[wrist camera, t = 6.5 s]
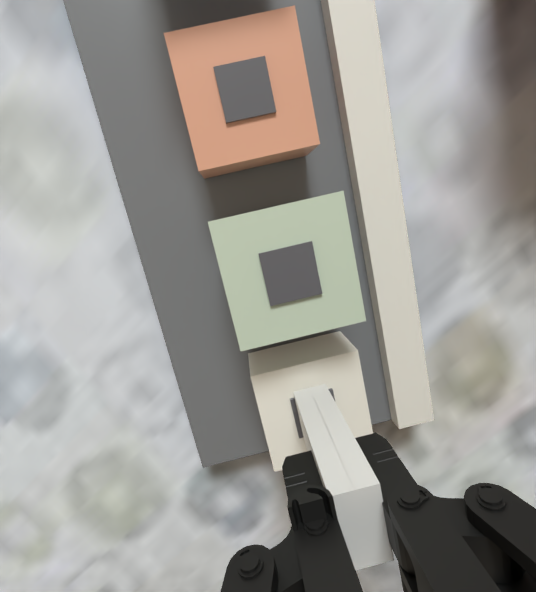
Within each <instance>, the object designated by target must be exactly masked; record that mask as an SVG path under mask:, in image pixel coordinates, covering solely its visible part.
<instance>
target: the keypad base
mask: <svg viewBox="0 0 536 592" xmlns="http://www.w3.org/2000/svg"><path fill="white" fill-rule="evenodd" d="M63 1H64V4H65V8H66V11H67V14H68V18H69V21H70V24H71V28H72V31H73V34H74V38H75V41H76V44H77V48H78V51H79V54H80V58H81V61H82V64H83V68H84V71H85V75H86V78H87V81H88V85H89V88H90V91H91V95H92V98H93V101H94V105H95V108H96V111H97V115H98V118H99V121H100V125H101V128H102V131H103V135H104V138H105V141H106V145H107V148H108V151H109V155H110V158H111V162H112V165H113V168H114V172H115V175H116V178H117V182H118V185H119V188H120V192H121V195H122V198H123V202H124V205H125V208H126V212H127V215H128V218H129V222H130V225H131V228H132V232H133V235H134V238H135V242H136V245H137V249H138V252H139V255H140V259H141V262H142V265H143V269H144V272H145V275H146V279H147V282H148V285H149V289H150V292H151V295H152V299H153V302H154V305H155V309H156V312H157V315H158V319H159V322H160V325H161V329H162V332H163V335H164V339H165V342H166V346H167V349H168V352H169V356H170V359H171V362H172V366H173V369H174V372H175V376H176V379H177V382H178V386H179V389H180V392H181V396H182V399H183V402H184V406H185V409H186V412H187V416H188V419H189V422H190V426H191V429H192V433H193V436H194V439H195V443H196V446H197V449H198V453H199V456H200V459H201V463H202V466H203V468H204V467H207V466H211V465H215V464H219V463H223V462H227V461H231V460H235V459H239V458H243V457H247V456H251V455H255V454H259V453H263V452H266V451H269V448H268V445H267V441H266V437H265V433H264V429H263V425H262V421H261V417H260V413H259V409H258V405H257V401H256V397H255V393H254V389H253V385H252V381H251V377H250V368H249V358H248V353H252V352H256V351H260V350H264V349H268V348H272V347H276V346H280V345H285V344H289V343H293V342H297V341H301V340H305V339H309V338H313V337H317V336H321V335H326V334H330V333H334V332H338V331H341V332H342V334H343V335H344V336H345V337H346V338H347V339H348V340H349V341H350V342H351V343H352V344H353V345H354V346H355V348H356V349H357V350H358V353H359V359H360V364H361V369H362V375H363V380H364V386H365V391H366V397H367V402H368V408H369V413H370V419H371V424H372V425H373V424H377V423H380V422H384V421H388V420H392V421H393V422H394V423H395V425H396V426H397V427H398V428H399V429H402V428H405V427H409V426H413V425H417V424H421V423H425V422H429V421H433V420H434V416H433V409H432V402H431V395H430V388H429V381H428V374H427V366H426V359H425V352H424V345H423V338H422V331H421V324H420V317H419V310H418V303H417V296H416V289H415V282H414V275H413V268H412V261H411V254H410V247H409V240H408V233H407V226H406V219H405V212H404V205H403V198H402V191H401V184H400V177H399V169H398V162H397V155H396V148H395V141H394V134H393V127H392V120H391V113H390V106H389V99H388V92H387V85H386V78H385V71H384V64H383V57H382V50H381V43H380V36H379V29H378V22H377V15H376V8H375V1H374V0H63ZM294 5H295V9H296V15H297V20H298V26H299V31H300V37H301V42H302V48H303V53H304V59H305V64H306V70H307V75H308V80H309V86H310V91H311V97H312V102H313V108H314V113H315V119H316V124H317V130H318V135H319V141H320V144H319V145H318V146H317V147H316V148H315V149H314V150H313V151H311V152H310V153H309V154H308V155H307V156H303V157H299V158H294V159H290V160H285V161H281V162H276V163H272V164H268V165H263V166H259V167H254V168H250V169H245V170H241V171H237V172H232V173H228V174H223V175H219V176H214V177H210V178H206V179H204V178H203V176H202V175H201V174H200V172H199V171H198V167H197V163H196V159H195V155H194V151H193V147H192V143H191V139H190V135H189V131H188V128H187V124H186V120H185V116H184V112H183V108H182V104H181V100H180V96H179V92H178V88H177V84H176V80H175V76H174V72H173V68H172V64H171V60H170V56H169V52H168V48H167V44H166V40H165V36H164V33H166V32H171V31H175V30H180V29H185V28H190V27H194V26H199V25H204V24H209V23H214V22H218V21H223V20H228V19H233V18H237V17H242V16H247V15H252V14H256V13H261V12H266V11H271V10H275V9H280V8H285V7H290V6H294ZM340 191H344V196H345V202H346V207H347V213H348V219H349V225H350V230H351V236H352V242H353V248H354V253H355V259H356V265H357V271H358V276H359V282H360V288H361V293H362V299H363V305H364V311H365V316H366V321H364V322H360V323H356V324H352V325H348V326H344V327H339V328H335V329H331V330H327V331H323V332H319V333H315V334H311V335H307V336H302V337H298V338H294V339H290V340H286V341H282V342H278V343H274V344H270V345H266V346H261V347H257V348H253V349H249V350H245V351H240V347H239V343H238V339H237V335H236V331H235V328H234V324H233V320H232V316H231V312H230V308H229V304H228V300H227V296H226V292H225V288H224V284H223V280H222V276H221V273H220V269H219V265H218V261H217V257H216V253H215V249H214V245H213V241H212V237H211V233H210V229H209V225H208V222H209V221H213V220H218V219H222V218H226V217H231V216H235V215H239V214H244V213H248V212H252V211H257V210H261V209H266V208H270V207H274V206H279V205H283V204H287V203H292V202H296V201H300V200H305V199H309V198H313V197H318V196H322V195H326V194H331V193H335V192H340Z"/></svg>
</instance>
